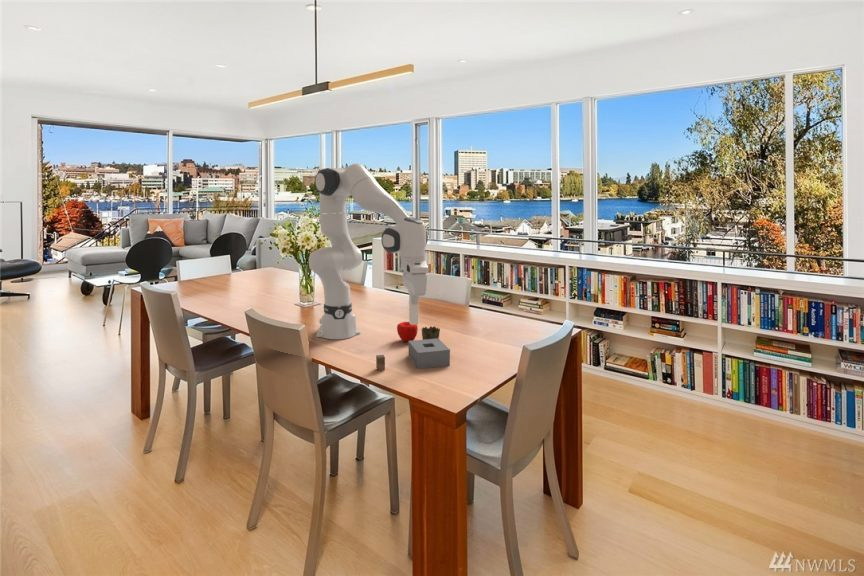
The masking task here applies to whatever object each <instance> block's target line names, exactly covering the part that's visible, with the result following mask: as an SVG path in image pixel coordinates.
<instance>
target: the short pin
mask: <svg viewBox="0 0 864 576" xmlns="http://www.w3.org/2000/svg"><path fill="white" fill-rule="evenodd" d="M375 356H376V357H375V358H376V360H375V361H376V368H377V369H376V371H377V370H378V371H377V372H383V371H382V370H385V371H386V357H385V354H376V355H375Z"/></svg>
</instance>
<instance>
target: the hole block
mask: <svg viewBox="0 0 864 576" xmlns="http://www.w3.org/2000/svg"><path fill="white" fill-rule="evenodd" d="M408 357H409V358H410V360H411V361H412V362H413V364H414V365H415V367H416V368H417V369H418V370H419V369H427V368H438V367H446V366H447V367H448V366H450V364H451V349H450V348H449V347H448V346H447V345H446V344H445V343H444V342H443V341H442V340H441V339H438V338H437V339H425V340H423V339H416V340H415V339H414V340H413V341H409V342H408Z"/></svg>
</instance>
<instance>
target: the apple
mask: <svg viewBox="0 0 864 576" xmlns="http://www.w3.org/2000/svg"><path fill="white" fill-rule="evenodd" d="M396 330H397V334H398V336H399V338H400V340H401V341H402V342H405V343H409V341H414V340H415V339H416V337H417V335H418V330H419V328H418V324H415V325H411V324H410V323H409V321H403V322H399V323H398V324H397V325H396Z"/></svg>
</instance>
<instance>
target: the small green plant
mask: <svg viewBox="0 0 864 576" xmlns="http://www.w3.org/2000/svg"><path fill="white" fill-rule="evenodd" d="M440 331H441V329H440V328H439V327H436V326H435V325H434V326H431V325H430V326H429V328H428V327H427V326H425V327H424V326H423V327H422V328H421V337H422V340H425V339H437V338H438V339H439V338H440ZM439 340H440V339H439Z"/></svg>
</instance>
